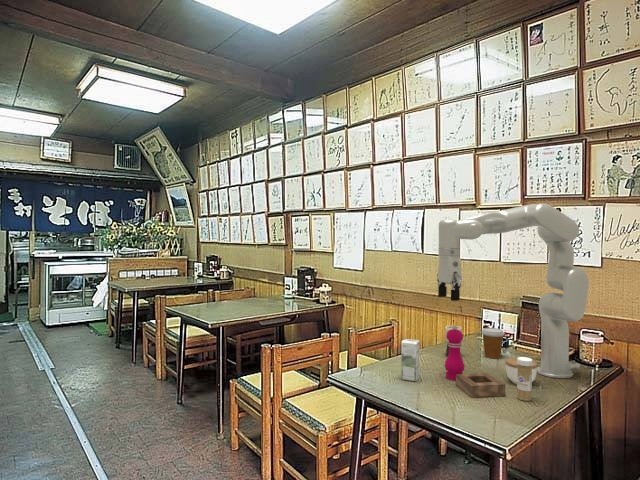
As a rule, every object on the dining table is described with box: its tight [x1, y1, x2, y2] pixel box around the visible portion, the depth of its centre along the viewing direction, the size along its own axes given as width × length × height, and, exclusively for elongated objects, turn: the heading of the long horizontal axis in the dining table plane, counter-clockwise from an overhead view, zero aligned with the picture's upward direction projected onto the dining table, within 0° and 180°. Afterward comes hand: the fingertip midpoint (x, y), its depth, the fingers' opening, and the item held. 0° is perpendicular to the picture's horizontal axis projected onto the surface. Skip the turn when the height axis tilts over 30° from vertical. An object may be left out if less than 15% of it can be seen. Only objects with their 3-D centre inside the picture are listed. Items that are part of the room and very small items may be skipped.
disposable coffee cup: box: [481, 327, 505, 360], centre depth 195 cm, size 10×10×12 cm
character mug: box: [444, 325, 463, 356], centre depth 196 cm, size 11×7×13 cm, turn 140°
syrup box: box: [400, 338, 420, 383], centre depth 165 cm, size 6×6×14 cm
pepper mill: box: [444, 324, 465, 381], centre depth 166 cm, size 7×7×20 cm
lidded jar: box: [504, 357, 538, 385], centre depth 161 cm, size 11×11×9 cm
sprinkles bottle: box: [516, 356, 533, 402], centre depth 145 cm, size 5×5×14 cm
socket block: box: [455, 372, 506, 399], centre depth 153 cm, size 12×12×4 cm
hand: (448, 298), depth 164 cm, fingers open, 9 cm apart
